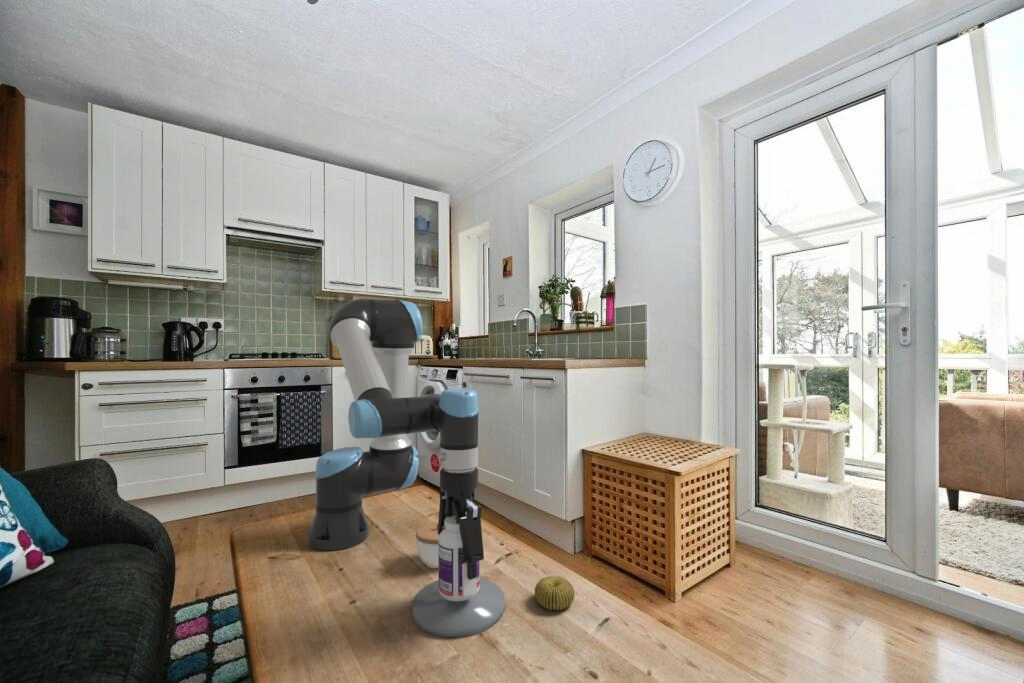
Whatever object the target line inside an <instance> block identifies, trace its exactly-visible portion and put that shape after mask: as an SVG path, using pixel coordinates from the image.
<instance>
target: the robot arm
mask: <svg viewBox="0 0 1024 683" xmlns="http://www.w3.org/2000/svg"><path fill="white" fill-rule="evenodd" d="M422 319H423V318H422V315H421V312H420V310H419V308H418V306H417V305H416V304H415V303H414V302H412V301H406V300H400V299H397V300H395V299H394V300H393V299H375V298H374V299H373V298H355V299H351V300H349V301H347V302H345V303H343V304H341V306H340V307H339V308H337V310H336V311H335V312H334V314H332V317H331V319H330V322H329V324H328V325H329V326H328V327H329V328H328V329H329V330H328V333H329V337H330V341H331V343H332V344H333V345H334V347H336V348H337V349H338V352H339V355H340V359H341V362H342V364H343V368H344V370H345V371H344V372H345V373H346V376H347V380H348V384H349V386H350V389H351V393H352V396H353V399H354V401H352V402H351V403H350V405H349V408H348V413H347V414H348V417H347V418H348V420H347V421H348V427H349V432H350V434H351V436H352V437H353V438H355V439H372V440H371V441H370V442H369V445H368V446H369V450H367V451H363V449H362V447H360V446H347V447H341V448H337V449H333V450H331V451H330V450H329V451H327V452H325V453H324V454H322V455H320V457H318V459H317V461H316V467H315V474H314V477H315V513H314V517H313V518H312V519H313V520H312V522H311V526H310V528H309V530H308V536H307V537H308V540H307V541H308V543H307V544H308V546H309V547H310V548H312V549H314V550H318V551H337V550H344V549H348V548H351V547H354V546H357V545H358V544H361V543H363V542H364V541H365V540H367V539H368V537H369V534H370V531H369V530H370V528H369V527H370V525H369V522H368V520H367V516H366V514H365V510H364V508H363V496H367V495H373V494H379V493H384V492H391V491H398V490H401V489H404V488H408V487H410V486H412V484H413V483H414V482H416V481H415V480H416V479H417V476H418V471H419V463H420V462H419V458H418V457H419V452H418V451H417V448H416V447H415V446H414V445H412V440H411V439H409V438H408V436H407V435H408V434H410V435H411V434H417V433H419V434H420V433H427V432H438V433H439V447H440V448H439V453H438V458H439V459H440V462H439V465H440V467H441V469H440V470H439V487H440V489H439V509H438V511H439V512H438V521H437V522H438V535H440V533H441V532H442V531H443V530H444V529H445V526H444V521H445V519H446V518H447V517H450V516H455V519H456V523H457V524H459V525H460V534H461V540H462V545H463V552H464V557H465V559H464V560H461V562H462V595H463V596H464V597H466V596H468V595H471V594H474V593H477V561H479V562H480V561H483V560H484V558H485V554H484V543H483V532H482V531H483V530H482V520H481V518H482V517H481V516H482V506H481V504H476V505H475V503H474V498H473V491H474V490H476V489H477V488H478V487H479V469H478V468H477V467H478V466H479V411H480V408H479V403H478V393H477V391H476V390H473V389H467V388H451V389H445V390H442V392H441V393H434V394H433V393H430V394H425V395H423V396H411V397H410V396H409V397H408V388H409V387H408V385H409V357H410V353H412V351H413V350H414V349H415V343H418V342H419V341H420V340H422V335H423V320H422ZM462 517H466V518H464V519H461V518H462ZM442 527H443V528H442Z"/></svg>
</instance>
